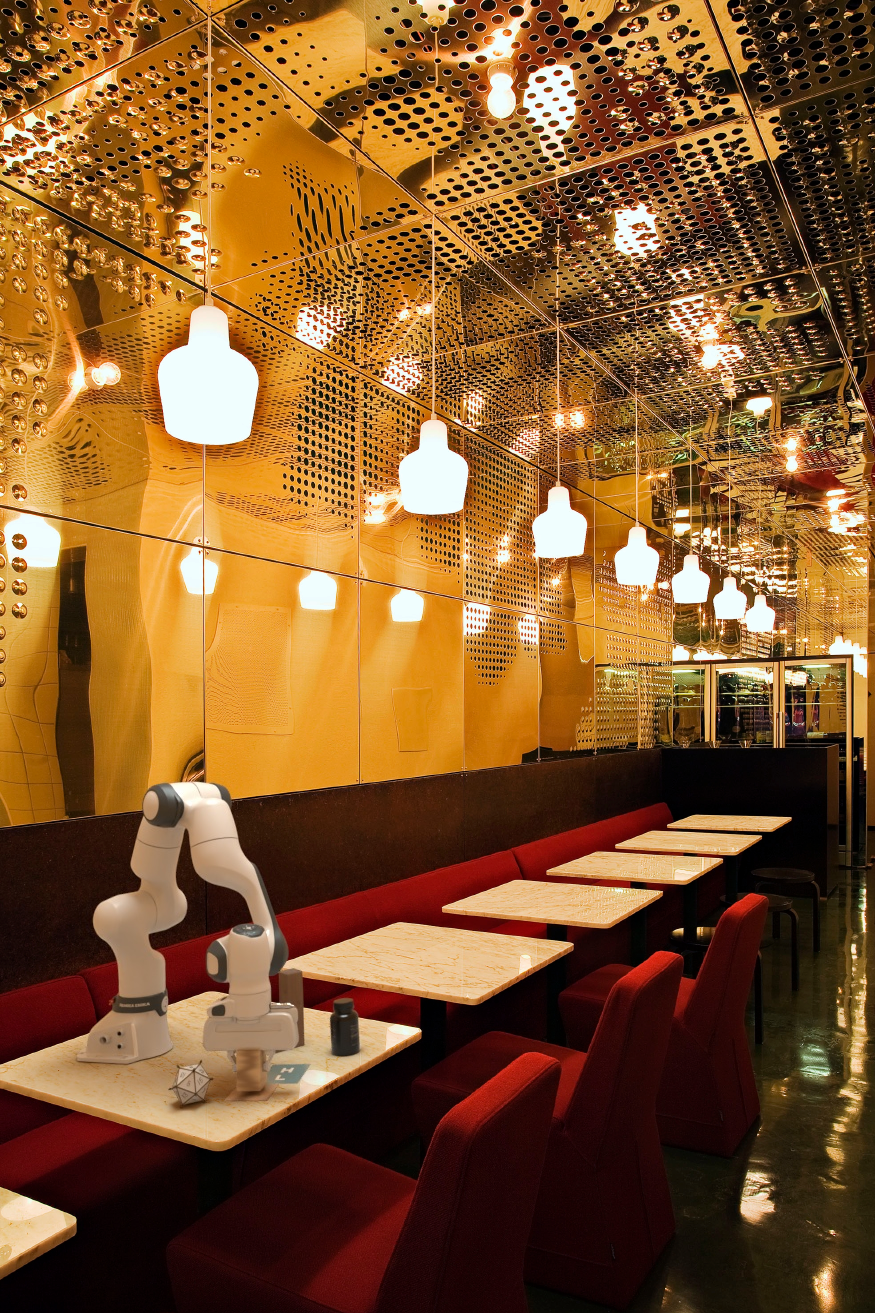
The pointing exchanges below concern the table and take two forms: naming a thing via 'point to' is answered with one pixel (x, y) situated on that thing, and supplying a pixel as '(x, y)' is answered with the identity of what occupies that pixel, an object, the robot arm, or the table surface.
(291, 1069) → the tile
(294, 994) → the wooden block
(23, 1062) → the table surface
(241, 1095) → the cork mat
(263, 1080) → the oak block
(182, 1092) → the game die
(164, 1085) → the table surface
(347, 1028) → the supplement bottle
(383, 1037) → the table surface
